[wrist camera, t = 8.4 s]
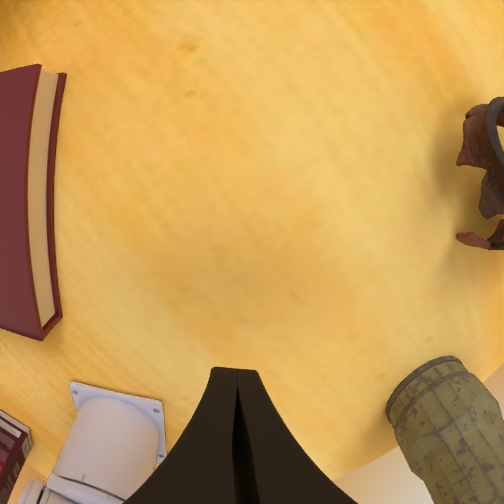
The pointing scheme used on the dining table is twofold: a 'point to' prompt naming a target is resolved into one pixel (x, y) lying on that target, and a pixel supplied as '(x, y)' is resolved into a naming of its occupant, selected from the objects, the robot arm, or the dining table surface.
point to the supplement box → (12, 453)
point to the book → (28, 200)
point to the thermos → (450, 433)
